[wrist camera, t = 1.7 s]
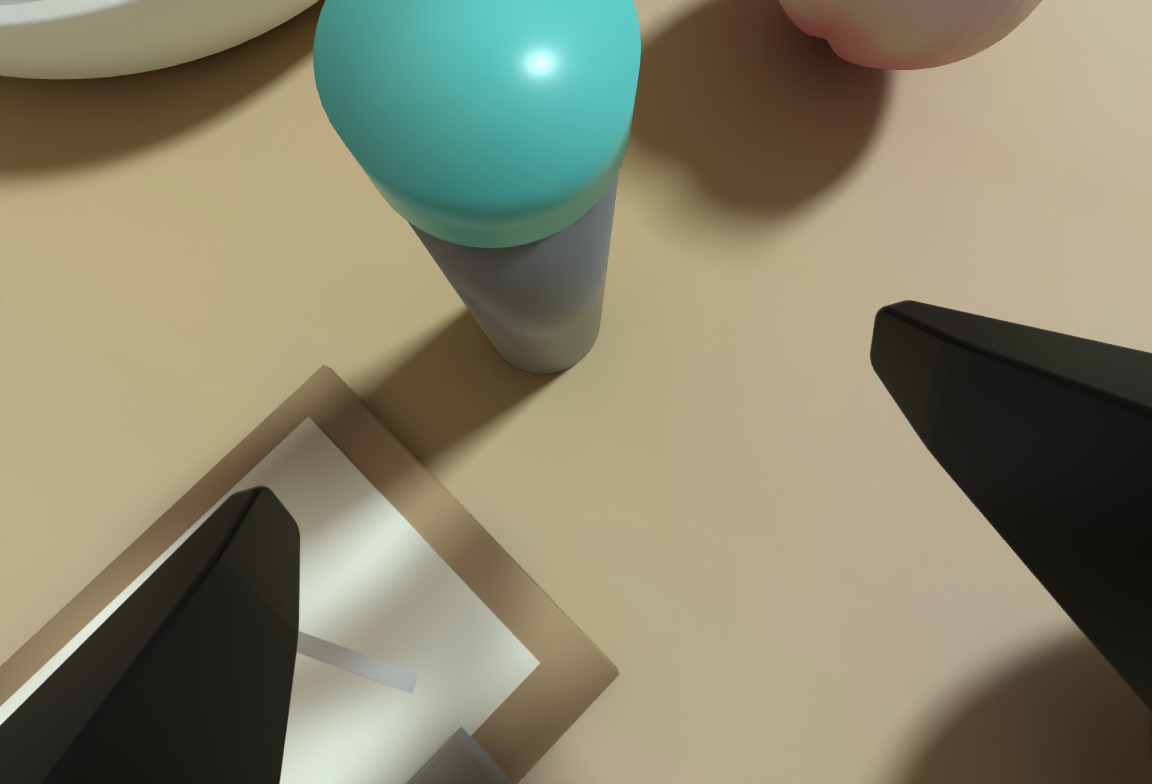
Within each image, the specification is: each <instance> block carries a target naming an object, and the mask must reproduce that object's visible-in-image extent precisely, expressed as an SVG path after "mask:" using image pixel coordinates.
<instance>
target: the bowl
mask: <svg viewBox="0 0 1152 784" xmlns="http://www.w3.org/2000/svg"><path fill="white" fill-rule="evenodd" d="M318 1H319V0H0V76H9V77H19V78H33V79H89V78H102V77H113V76H121V75H128V74H135V73H141V72H147V71H152V70H157V69H162V68H167V67H171V66H175V65H179V64H183V63H186V62H190V61H194V60H197V59H200V58H203V57H206V56H209V55H212V54H216V53H218V52H221V51H224V50H226V49H229V48H231V47H234V46H236V45H239V44H241V43H244V42H246V41H248V40H250V39H252V38H255V37H257V36H259V35H261V34H263V33H265V32H267V31H269V30H271V29H273V28H275V27H277V26H279V25H281V24H282V23H284V22H286V21H288V20H289V19H291V18H293V17H294V16H296V15H298V14H299V13H301V12H303V11H304V10H306V9H307V8H309V7H310V6H312V5H313V4H315V3H316V2H318Z"/></svg>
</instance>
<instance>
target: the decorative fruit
mask: <svg viewBox="0 0 1152 784" xmlns="http://www.w3.org/2000/svg"><path fill="white" fill-rule="evenodd" d="M778 1H779V3H780V5H781V6H782V8H783V9H784V11H785V13H786V14H787V15H788V17H789V18H790V19H791V20H792V22H793V23H794V24H795V25H796V26H797V27H798V28H799V29H800V30H802V31H803V32H804V33H806V34H808V35H810V36H814V37H820V38H823V39H826V40H827V41H828V43H829V44H830V46H831V48H832V49H833V51H834V52H835V53H836V54H837V55H838V56H839V57H841V58H842V59H844V60H846V61H848V62H850V63H853V64H857V65H860V66H865V67H869V68H876V69H885V70H915V69H925V68H933V67H938V66H942V65H946V64H950V63H953V62H957V61H960V60H963V59H965V58H968V57H970V56H973V55H975V54H977V53H979V52H981V51H983V50H985V49H986V48H988V47H990V46H992V45H993V44H995V43H996V42H998V41H1000V40H1001V39H1003V38H1004V37H1005V36H1006V35H1008V34H1009V33H1010V32H1011V31H1013V30H1014V29H1015V28H1016V27H1017V26H1018V25H1019V24H1020V23H1021V22H1023V21H1024V20H1025V19H1026V18H1027V17H1028V16H1029V15H1030V14H1031V12H1032V11H1033V10H1034V9H1035V8H1036V7H1037V6H1038V4H1039V3H1040V2H1041V1H1042V0H778Z"/></svg>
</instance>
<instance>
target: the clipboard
mask: <svg viewBox="0 0 1152 784" xmlns="http://www.w3.org/2000/svg"><path fill="white" fill-rule="evenodd" d="M260 485H261V486H266V487H268V488H269V489H271V491H272V492H273V493H274V494H275V495H276V497H277V498H278V499H279V500H280V502H281V503H282V504H283V505H284V507H285V508H286V509H287V510H288V512H289V513H290V514H291V515H292V517H293V518H294V519H295V521H296V523H297V525H298V528H299V531H300V601H299V635H298V645H297V654H296V662H295V670H294V677H293V685H292V693H291V700H290V708H289V716H288V724H287V731H286V739H285V747H284V755H283V762H282V770H281V778H280V784H517V783H518V782H519V781H520V780H521V779H522V778H523V777H524V776H525V775H526V774H527V772H528V771H529V770H530V769H531V768H532V767H533V766H534V765H535V764H536V763H537V762H538V761H539V760H540V759H541V757H542V756H543V755H544V754H545V753H546V752H547V751H548V750H549V749H550V748H551V747H552V746H553V745H554V744H555V743H556V741H557V740H558V739H559V738H560V737H561V736H562V735H563V734H564V733H565V732H566V731H567V730H568V729H569V728H570V726H571V725H572V724H573V723H574V722H575V721H576V720H577V719H578V718H579V717H580V716H581V715H582V714H583V713H584V711H585V710H586V709H587V708H588V707H589V706H590V705H591V704H592V703H593V702H594V701H595V700H596V699H597V698H598V696H599V695H600V694H601V693H602V692H603V691H604V690H605V689H606V688H607V687H608V686H609V685H610V684H611V683H612V681H613V680H614V679H615V678H616V677H617V676H618V675H619V673H618V668H617V667H616V666H615V665H614V664H613V663H612V662H611V661H610V660H609V659H608V658H607V657H606V656H605V655H604V654H603V652H602V651H601V650H600V649H599V648H598V647H597V646H596V645H595V644H594V643H593V642H592V641H591V640H590V639H589V638H588V637H587V636H586V635H585V634H584V633H583V632H582V631H581V629H580V628H579V627H578V626H577V625H576V624H575V623H574V622H573V621H572V620H571V619H570V618H569V617H568V616H567V615H566V614H565V613H564V612H563V611H562V610H561V609H560V607H559V606H558V605H557V604H556V603H555V602H554V601H553V600H552V599H551V598H550V597H549V596H548V595H547V594H546V593H545V592H544V591H543V590H542V589H541V588H540V587H539V585H538V584H537V583H536V582H535V581H534V580H533V579H532V578H531V577H530V576H529V575H528V574H527V573H526V572H525V571H524V570H523V569H522V568H521V567H520V566H519V565H518V564H517V562H516V561H515V560H514V559H513V558H512V557H511V556H510V555H509V554H508V553H507V552H506V551H505V550H504V549H503V548H502V547H501V546H500V545H499V544H498V543H497V542H496V540H495V539H494V538H493V537H492V536H491V535H490V534H489V533H488V532H487V531H486V530H485V529H484V528H483V527H482V526H481V525H480V524H479V523H478V522H477V521H476V520H475V519H474V517H473V516H472V515H471V514H470V513H469V512H468V511H467V510H466V509H465V508H464V507H463V506H462V505H461V504H460V503H459V502H458V501H457V500H456V499H455V498H454V497H453V495H452V494H451V493H450V492H449V491H448V490H447V489H446V488H445V487H444V486H443V485H442V484H441V483H440V482H439V481H438V480H437V479H436V478H435V477H434V476H433V475H432V474H431V472H430V471H429V470H428V469H427V468H426V467H425V466H424V465H423V464H422V463H421V462H420V461H419V460H418V459H417V458H416V457H415V456H414V455H413V454H412V453H411V452H410V450H409V449H408V448H407V447H406V446H405V445H404V444H403V443H402V442H401V441H400V440H399V439H398V438H397V437H396V436H395V435H394V434H393V433H392V432H391V431H390V430H389V429H388V427H387V426H386V425H385V424H384V423H383V422H382V421H381V420H380V419H379V418H378V417H377V416H376V415H375V414H374V413H373V412H372V411H371V410H370V409H369V408H368V407H367V405H366V404H365V403H364V402H363V401H362V400H361V399H360V398H359V397H358V396H357V395H356V394H355V393H354V392H353V391H352V390H351V389H350V388H349V387H348V386H347V385H346V383H345V382H344V381H343V380H342V379H341V378H340V377H339V376H338V375H337V374H336V373H335V372H334V371H333V370H332V369H331V368H329V367H327V366H324V365H323V366H322V367H321V368H320V369H319V370H317V371H316V372H315V373H314V374H313V375H312V376H311V377H310V378H309V379H308V380H307V381H306V382H305V383H304V384H302V385H301V386H300V387H299V388H298V389H297V390H296V391H295V392H294V393H293V394H292V395H291V396H290V397H289V398H287V399H286V400H285V401H284V402H283V403H282V404H281V405H280V406H279V407H278V408H277V409H276V410H275V411H274V412H272V413H271V414H270V415H269V416H268V417H267V418H266V419H265V420H264V421H263V422H262V423H261V424H260V425H259V426H257V427H256V428H255V429H254V430H253V431H252V432H251V433H250V434H249V435H248V436H247V437H246V438H245V439H244V440H242V441H241V442H240V443H239V444H238V445H237V446H236V447H235V448H234V449H233V450H232V451H231V452H230V453H229V454H227V455H226V456H225V457H224V458H223V459H222V460H221V461H220V462H219V463H218V464H217V465H216V466H215V467H214V468H212V469H211V470H210V471H209V472H208V473H207V474H206V475H205V476H204V477H203V478H202V479H201V480H200V481H199V482H197V483H196V484H195V485H194V486H193V487H192V488H191V489H190V490H189V491H188V492H187V493H186V494H185V495H184V496H182V497H181V498H180V499H179V500H178V501H177V502H176V503H175V504H174V505H173V506H172V507H171V508H170V509H169V510H168V511H166V512H165V513H164V514H163V515H162V516H161V517H160V518H159V519H158V520H157V521H156V522H155V523H154V524H153V525H151V526H150V527H149V528H148V529H147V530H146V531H145V532H144V533H143V534H142V535H141V536H140V537H139V538H138V539H136V540H135V541H134V542H133V543H132V544H131V545H130V546H129V547H128V548H127V549H126V550H125V551H124V552H123V553H121V554H120V555H119V556H118V557H117V558H116V559H115V560H114V561H113V562H112V563H111V564H110V565H109V566H108V567H106V568H105V569H104V570H103V571H102V572H101V573H100V574H99V575H98V576H97V577H96V578H95V579H94V580H93V581H91V582H90V583H89V584H88V585H87V586H86V587H85V588H84V589H83V590H82V591H81V592H80V593H79V594H78V595H76V596H75V597H74V598H73V599H72V600H71V601H70V602H69V603H68V604H67V605H66V606H65V607H64V608H63V609H61V610H60V611H59V612H58V613H57V614H56V615H55V616H54V617H53V618H52V619H51V620H50V621H49V622H48V623H46V624H45V625H44V626H43V627H42V628H41V629H40V630H39V631H38V632H37V633H36V634H35V635H34V636H33V637H31V638H30V639H29V640H28V641H27V642H26V643H25V644H24V645H23V646H22V647H21V648H20V649H19V650H18V651H16V652H15V653H14V654H13V655H12V656H11V657H10V658H9V659H8V660H7V661H6V662H5V663H4V664H3V665H2V666H0V725H1V724H2V723H3V722H4V721H5V720H6V719H7V718H8V717H9V716H10V715H11V714H12V713H13V712H14V711H15V710H16V709H17V708H18V707H19V706H20V705H21V704H22V703H23V702H24V701H25V700H26V699H27V698H28V697H29V696H30V695H31V694H32V693H33V692H34V691H35V690H36V689H37V688H38V687H39V686H40V685H41V684H42V683H43V682H44V681H45V680H46V679H47V678H48V677H49V676H50V675H51V674H52V673H53V672H54V671H55V670H56V669H57V668H58V667H59V666H60V665H61V664H62V663H63V662H64V661H65V660H66V659H67V658H68V657H69V656H70V655H71V654H72V653H73V652H74V651H75V650H76V649H77V648H78V647H79V646H80V645H81V644H82V643H83V642H84V641H85V640H86V639H87V638H88V637H89V636H90V635H91V634H92V633H93V632H94V631H95V630H96V629H97V628H98V627H99V626H100V625H101V624H102V623H103V622H104V621H105V620H106V619H107V618H108V617H109V616H110V615H111V614H112V613H113V612H114V611H115V610H116V609H117V608H118V607H119V606H120V605H121V604H122V603H123V602H124V601H125V600H126V599H127V598H128V597H129V596H130V595H131V594H132V593H133V592H134V591H135V590H136V589H137V588H138V587H139V586H140V585H141V584H142V583H143V582H144V581H145V580H146V579H147V578H148V577H149V576H150V575H151V574H152V573H153V572H154V571H155V570H156V569H157V568H158V567H159V566H160V565H161V564H162V563H163V562H164V561H165V560H166V559H167V558H168V557H169V556H170V555H171V554H172V553H173V552H174V551H175V550H176V549H177V548H178V547H179V546H180V545H181V544H182V543H183V542H184V541H185V540H186V539H187V538H188V537H189V536H190V535H191V534H192V533H193V532H194V531H195V530H196V529H197V528H198V527H199V526H200V525H201V524H202V523H203V522H204V521H205V520H206V519H207V518H208V517H209V516H210V515H211V514H212V513H213V512H214V511H215V510H216V509H217V508H218V507H219V506H220V505H221V504H222V503H223V502H224V501H225V500H226V499H227V498H228V497H229V496H231V495H232V494H233V493H235V492H238V491H241V490H245V489H248V488H252V487H255V486H260Z"/></svg>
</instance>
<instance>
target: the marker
mask: <svg viewBox="0 0 1152 784" xmlns="http://www.w3.org/2000/svg"><path fill="white" fill-rule="evenodd" d="M640 56H641V38H640V27H639V22H638V17H637V13H636V9H635V6H634V3H633V1H632V0H325V3H324V5H323V7H322V10H321V13H320V16H319V20H318V23H317V27H316V33H315V40H314V47H313V62H314V73H315V80H316V86H317V90H318V93H319V96H320V100H321V103H322V106H323V108H324V110H325V112H326V114H327V116H328V118H329V121H330V123H331V124H332V126H333V127H334V129H335V130H336V132H337V133H338V135H339V136H340V138H341V139H342V141H343V142H344V143H345V145H346V146H347V148H348V149H349V150H350V152H351V153H352V155H353V156H354V157H355V159H356V160H357V162H358V163H359V164H360V166H361V167H362V169H363V170H364V171H365V173H366V174H367V175H368V177H369V178H370V180H371V181H372V182H373V184H374V185H375V187H376V188H377V189H378V191H379V192H380V194H381V195H382V196H383V198H384V199H385V200H386V201H387V202H388V203H389V204H390V206H391V207H392V208H393V209H394V210H395V211H396V212H397V213H399V214H400V215H401V216H402V217H403V218H404V219H406V220H407V221H408V222H409V224H410V225H411V227H412V228H413V230H414V231H415V233H416V234H417V235H418V237H419V238H420V240H421V241H422V243H423V244H424V246H425V247H426V249H427V250H428V251H429V253H430V254H431V256H432V257H433V259H434V260H435V262H436V263H437V264H438V266H439V267H440V269H441V270H442V272H443V273H444V275H445V276H446V278H447V279H448V280H449V282H450V283H451V285H452V286H453V288H454V289H455V291H456V292H457V294H458V295H459V296H460V298H461V299H462V301H463V302H464V304H465V305H466V307H467V308H468V309H469V311H470V312H471V314H472V315H473V317H474V318H475V320H476V321H477V323H478V324H479V325H480V327H481V328H482V330H483V331H484V333H485V334H486V336H487V337H488V339H489V340H490V341H491V343H492V344H493V346H494V347H495V349H496V350H497V352H498V353H499V354H500V355H501V356H502V357H503V358H504V359H505V360H506V361H507V362H508V363H510V364H511V365H513V366H514V367H516V368H518V369H520V370H523V371H526V372H529V373H534V374H552V373H557V372H560V371H563V370H566V369H568V368H570V367H572V366H573V365H575V364H577V363H578V362H579V361H580V360H582V359H583V358H584V357H585V356H586V354H587V353H588V352H589V351H590V349H591V348H592V346H593V344H594V342H595V340H596V338H597V335H598V332H599V327H600V319H601V311H602V303H603V295H604V287H605V279H606V271H607V263H608V255H609V247H610V239H611V231H612V223H613V214H614V206H615V198H616V190H617V182H618V174H619V169H620V167H621V165H622V162H623V160H624V157H625V154H626V151H627V147H628V142H629V137H630V131H631V124H632V117H633V110H634V103H635V96H636V89H637V82H638V75H639V68H640Z"/></svg>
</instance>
